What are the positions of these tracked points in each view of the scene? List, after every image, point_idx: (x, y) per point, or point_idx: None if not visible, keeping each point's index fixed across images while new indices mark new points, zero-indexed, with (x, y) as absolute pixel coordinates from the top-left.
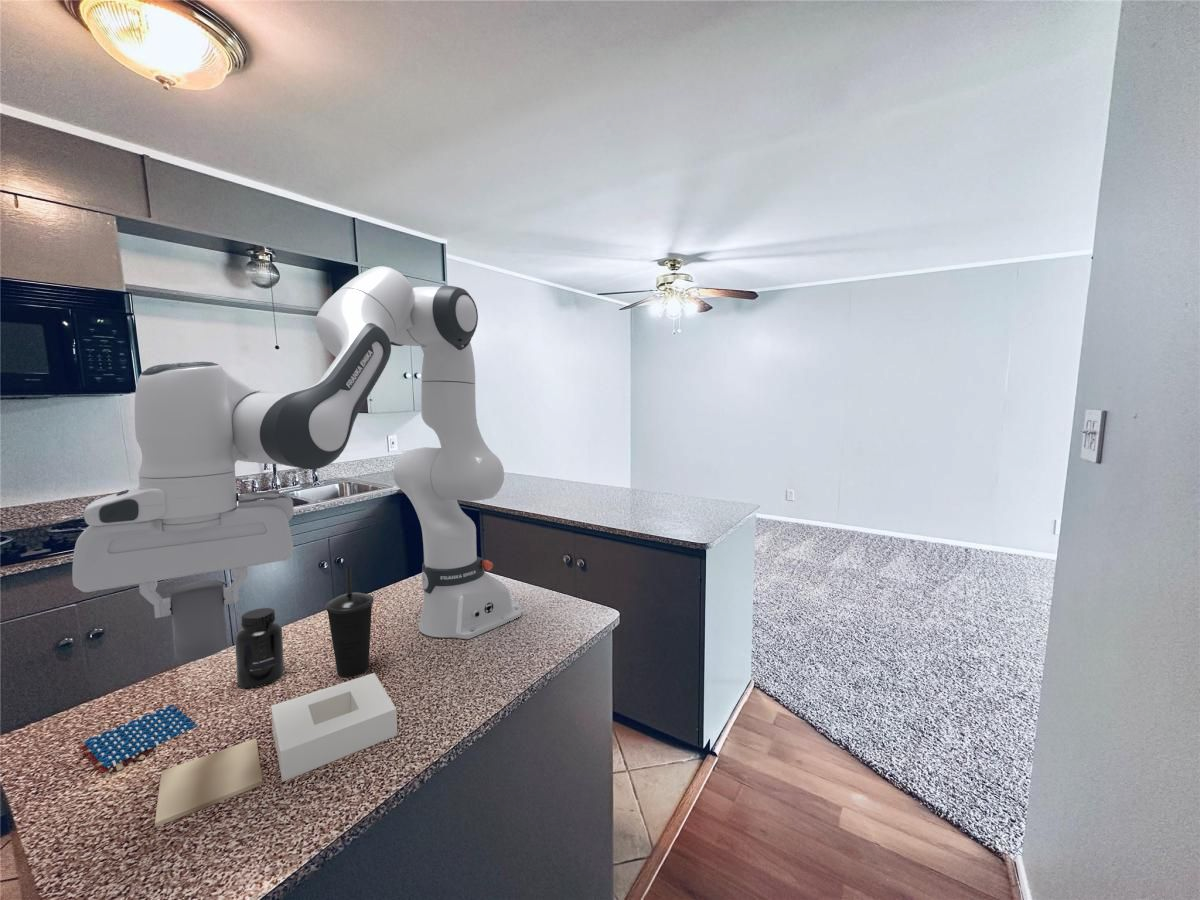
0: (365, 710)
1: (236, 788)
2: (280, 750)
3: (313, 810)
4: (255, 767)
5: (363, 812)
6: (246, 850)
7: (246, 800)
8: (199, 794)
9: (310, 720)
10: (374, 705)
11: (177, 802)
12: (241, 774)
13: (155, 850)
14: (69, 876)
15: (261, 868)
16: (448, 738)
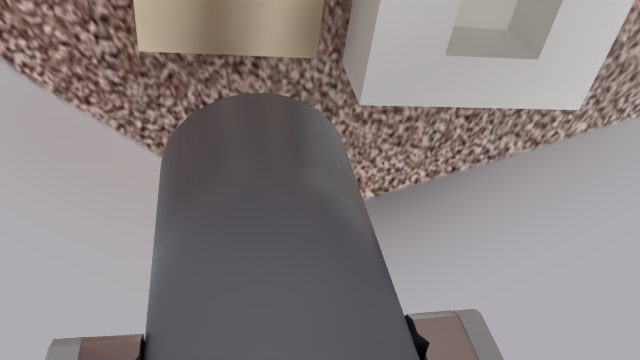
0: (542, 73)
1: (273, 49)
2: (360, 101)
3: (362, 142)
4: (314, 5)
5: (410, 185)
6: None
7: None
8: (210, 20)
9: (447, 30)
10: (565, 68)
11: (171, 14)
12: (287, 10)
13: (146, 77)
14: (18, 48)
15: None
16: (591, 119)
